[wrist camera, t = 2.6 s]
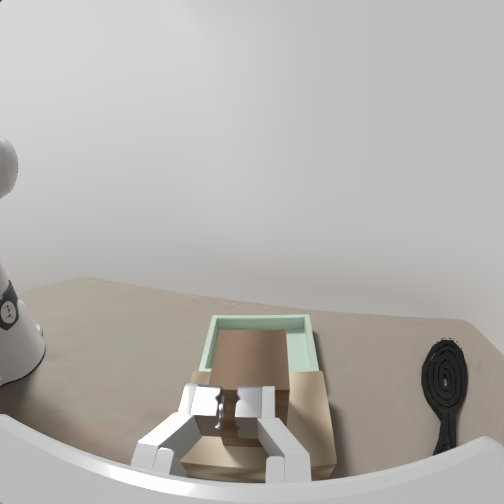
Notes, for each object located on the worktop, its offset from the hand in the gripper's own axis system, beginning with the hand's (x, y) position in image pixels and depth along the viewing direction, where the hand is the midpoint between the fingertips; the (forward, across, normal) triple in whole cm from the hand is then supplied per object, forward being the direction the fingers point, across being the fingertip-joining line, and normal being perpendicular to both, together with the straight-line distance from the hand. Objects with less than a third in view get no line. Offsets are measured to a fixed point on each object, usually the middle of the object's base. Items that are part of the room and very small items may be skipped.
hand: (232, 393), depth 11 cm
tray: (+24, 0, +22) cm, 33 cm away
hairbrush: (+10, -26, +23) cm, 36 cm away
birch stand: (+10, 0, +22) cm, 24 cm away
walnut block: (+9, 0, +17) cm, 19 cm away
